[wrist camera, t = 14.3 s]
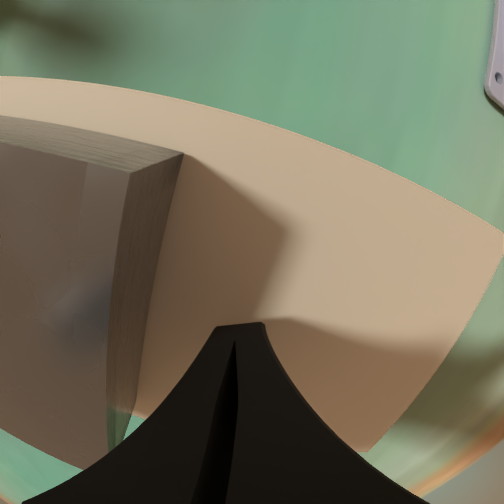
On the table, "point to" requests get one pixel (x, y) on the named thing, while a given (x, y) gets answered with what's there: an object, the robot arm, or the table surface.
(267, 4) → the table surface
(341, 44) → the table surface
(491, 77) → the robot arm
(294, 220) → the board
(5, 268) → the cover
